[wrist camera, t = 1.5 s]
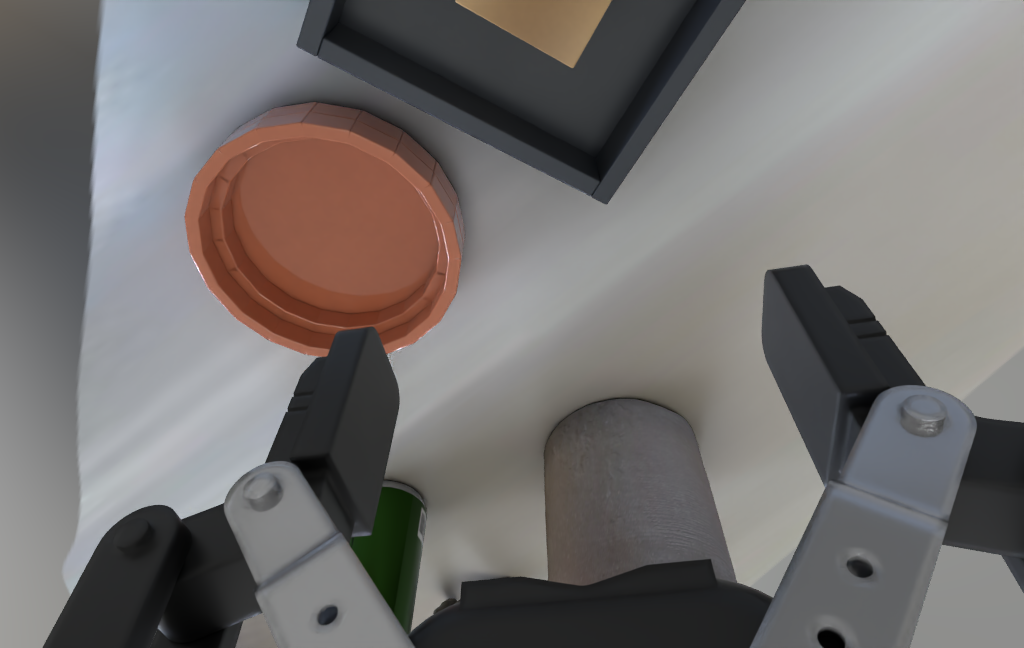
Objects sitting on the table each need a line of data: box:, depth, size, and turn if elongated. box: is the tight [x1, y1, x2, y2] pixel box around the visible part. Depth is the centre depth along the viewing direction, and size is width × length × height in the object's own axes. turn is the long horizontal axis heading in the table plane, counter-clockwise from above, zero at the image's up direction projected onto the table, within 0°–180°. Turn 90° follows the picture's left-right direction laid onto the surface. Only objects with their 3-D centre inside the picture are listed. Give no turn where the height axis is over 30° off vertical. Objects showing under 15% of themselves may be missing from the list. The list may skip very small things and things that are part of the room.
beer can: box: [349, 481, 427, 635], centre depth 40 cm, size 5×5×12 cm
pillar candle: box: [544, 399, 737, 586], centre depth 35 cm, size 10×10×15 cm
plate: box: [185, 102, 465, 357], centre depth 31 cm, size 12×12×3 cm
